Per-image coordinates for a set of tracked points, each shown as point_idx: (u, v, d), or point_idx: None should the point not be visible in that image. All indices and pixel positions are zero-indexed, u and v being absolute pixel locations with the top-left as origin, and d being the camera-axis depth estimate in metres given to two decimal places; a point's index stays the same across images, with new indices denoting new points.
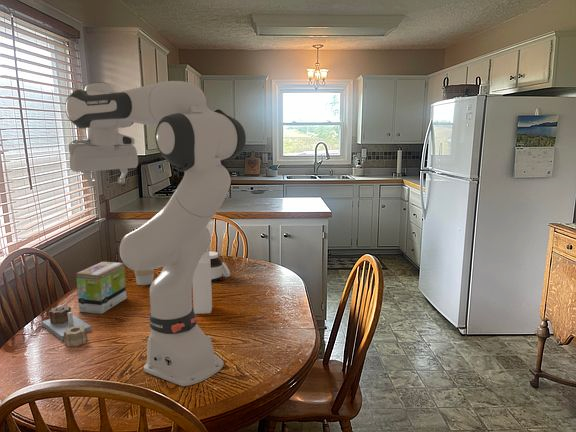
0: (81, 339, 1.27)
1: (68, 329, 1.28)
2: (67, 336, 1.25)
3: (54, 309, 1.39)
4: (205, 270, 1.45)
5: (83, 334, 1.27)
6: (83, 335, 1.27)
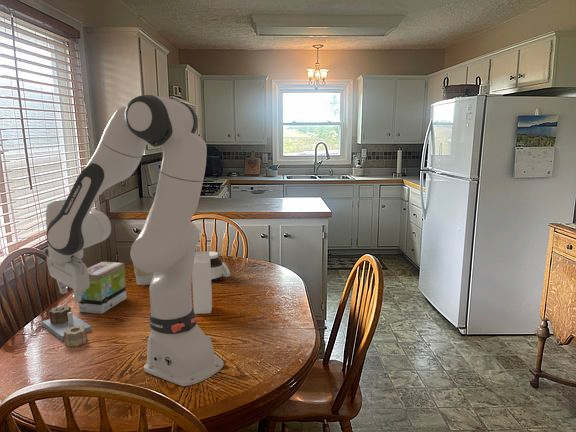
0: (81, 339, 1.27)
1: (68, 329, 1.28)
2: (67, 336, 1.25)
3: (54, 309, 1.39)
4: (205, 270, 1.45)
5: (83, 334, 1.27)
6: (83, 335, 1.27)
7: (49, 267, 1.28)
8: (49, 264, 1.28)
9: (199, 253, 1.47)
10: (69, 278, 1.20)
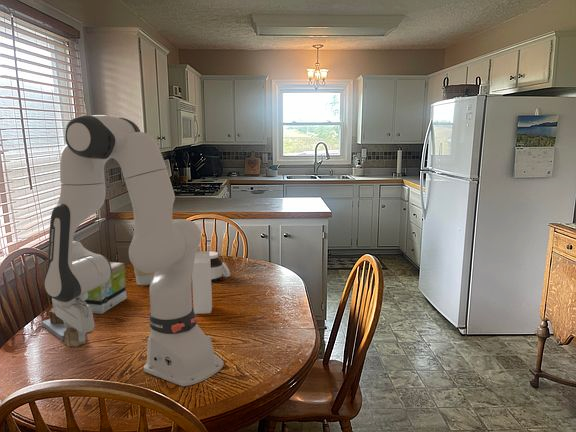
0: None
1: (68, 329, 1.28)
2: (67, 336, 1.25)
3: None
4: (205, 270, 1.45)
5: None
6: None
7: (55, 307, 1.30)
8: (54, 304, 1.30)
9: (199, 253, 1.47)
10: (74, 320, 1.22)
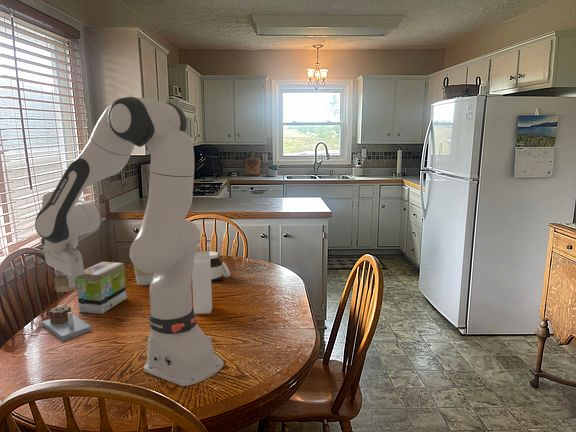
0: None
1: (59, 276, 1.31)
2: (57, 282, 1.28)
3: (54, 309, 1.39)
4: (205, 270, 1.45)
5: None
6: None
7: (46, 256, 1.34)
8: (46, 253, 1.34)
9: (199, 253, 1.47)
10: (64, 265, 1.26)
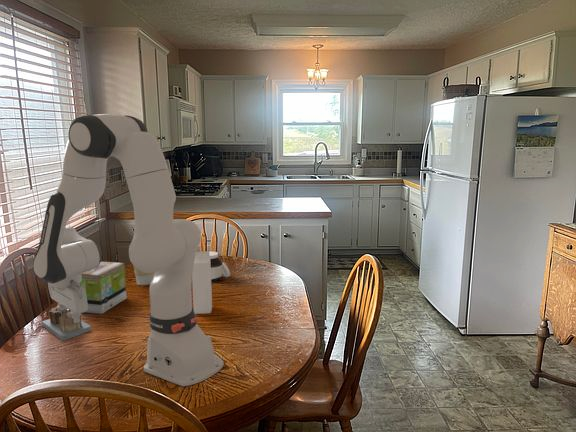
0: (76, 325, 1.33)
1: (63, 315, 1.34)
2: (62, 321, 1.31)
3: (54, 309, 1.39)
4: (205, 270, 1.45)
5: None
6: None
7: (50, 291, 1.36)
8: (50, 288, 1.36)
9: (199, 253, 1.47)
10: (68, 302, 1.28)
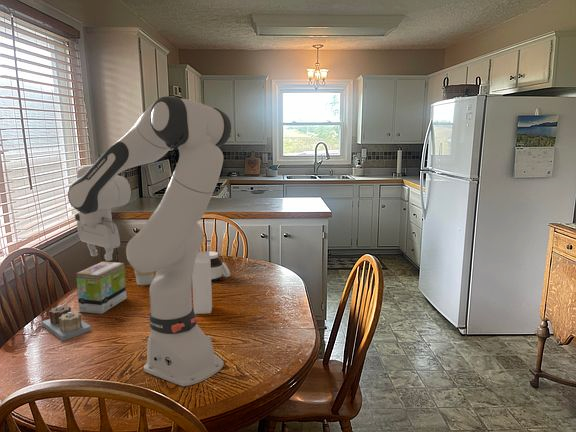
0: (76, 325, 1.33)
1: (64, 315, 1.34)
2: (62, 321, 1.31)
3: (54, 309, 1.39)
4: (205, 270, 1.45)
5: (77, 320, 1.33)
6: (77, 321, 1.33)
7: (80, 232, 1.38)
8: (79, 229, 1.37)
9: (199, 253, 1.47)
10: (100, 238, 1.29)
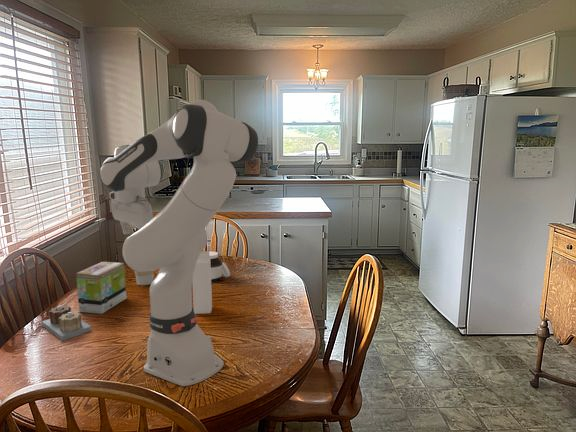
0: (76, 325, 1.33)
1: (64, 315, 1.34)
2: (62, 321, 1.31)
3: (54, 309, 1.39)
4: (205, 270, 1.45)
5: (77, 320, 1.33)
6: (77, 321, 1.33)
7: (113, 211, 1.42)
8: (113, 208, 1.42)
9: None
10: (135, 216, 1.34)
